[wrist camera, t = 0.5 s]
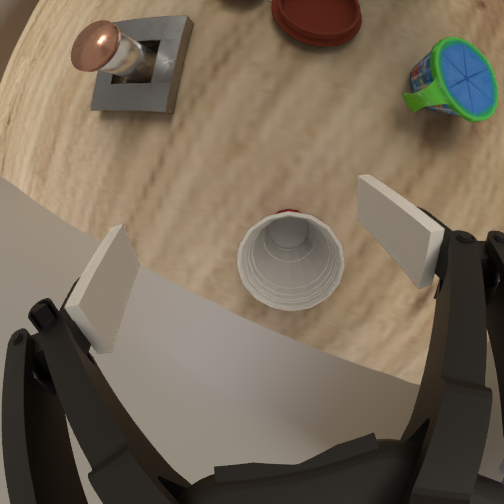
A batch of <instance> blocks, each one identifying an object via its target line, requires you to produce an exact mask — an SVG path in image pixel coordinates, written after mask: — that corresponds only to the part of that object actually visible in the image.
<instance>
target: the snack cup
mask: <svg viewBox="0 0 504 504" xmlns="http://www.w3.org/2000/svg"><path fill="white" fill-rule="evenodd" d="M411 84H412V88H413V91H414V93H412V94H409V93H403V98H404V100H405V102H406V103H407V105H408V107H409V108H410V110H411V111H412V112H416V111H418V110H419V109H421V108H423V107H427V108H429V109H431V110H433V111H437V112H442V113H447V114H452V115H457V116H460V117H462V118H464V119H466V120H467V121H469V122H474V123H476V121H484V120H487V119H489V118H490V117H491V116H492V115H493V114H494V112H495V110H496V107H497V104H498V86H497V81H496V78H495V73H494V71H493V69H492V67H491V65H490V63H489V61H488V60H487V58H485V57H484V55H483V54H482V53H481V52H480V51H479V50H478V49H477V48H476V47H475V46H474V45H473V44H471V43H470V42H468V41H466V40H464V39H462V38H458V37H448V38H445V39H443V40H440V41H439V42H438V43H437V44H436V45H435V46H433V48H432V50H431V52H430V53H429V54H427V55H426V56H425V57H424V58H423V59H422V60H421V61H420V62H419V63H418V64H417V65H415V67H414V68H413V70H412V72H411Z"/></svg>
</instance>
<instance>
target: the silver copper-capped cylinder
mask: <svg viewBox="0 0 504 504" xmlns="http://www.w3.org/2000/svg"><path fill="white" fill-rule="evenodd" d="M156 57H157V53H155V52H154V51H152V50H150V49H149V48H147V47H145V46H144V45H142V44H140V43H138V42H137V41H135V40H133V39H131V38H129V37H128V36H126V35H124V34H122V33H120V30H119V28H118V27H117V26H116V25H115V24H113V23H111V22H109V21H105V20H101V21H97V22H94V23H92V24H90V25H89V26H87V27H86V28H85V29H84V30H83V31H82V32H81V33H80V34H79V36H78V37H77V39H76V40H75V42H74V45H73V47H72V51H71V61H72V64H73V66H74V67H75V68H76V69H78V70H81V71H86V72H93V71H96V70H100V71H104V72H108V73H111V74H115V75H118V76H122V77H125V78H128V79H131V80H135V81H138V82H143V81H147V80H149V79H151V78H152V75H153V70H154V66H155V62H156Z"/></svg>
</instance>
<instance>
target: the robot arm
mask: <svg viewBox="0 0 504 504" xmlns="http://www.w3.org/2000/svg"><path fill="white" fill-rule="evenodd" d="M357 220H358V221H359V222H360V223H361V224H362V225H363V226H364V227H365V228H366V229H367V230H368V231H369V232H370V234H371V235H372V236H373V237H374V238H375V239H376V240H377V241H378V242H379V243H380V244H381V246H382V247H383V248H384V249H385V250H386V251H387V252H388V253H389V254H390V256H391V257H392V258H393V259H394V260H395V261H396V263H397V264H398V265H399V266H400V267H401V268H402V270H403V271H404V272H405V273H406V274H407V275H408V277H409V278H410V279H411V280H412V282H413V283H414V284H415V285H416V286H417V288H418V289H421V288H424V287H426V286H429V285H432V282H433V278H434V275H435V274H436V275H437V276H438V277H439V278H440V279H439V283H438V286H437V290H436V293H435V296H434V299H436V307H435V315H434V322H433V328H432V334H431V340H430V345H429V351H428V356H427V360H426V365H425V369H424V373H423V378H422V381H421V385H420V389H419V393H418V396H417V400H416V403H415V407H414V410H413V413H412V416H411V419H410V421H409V424H408V425H407V427H406V430H405V431H404V433H403V435H402V437H401V439H400V440H395V439H377V440H376V437H375V434H374V433H371V434H369V435H366V436H363V437H360V438H357V439H354V440H351V441H348V442H345V443H341V444H338V445H336V446H334V447H332V448H330V449H328V450H326V451H325V452H323V453H321V454H319V455H317V456H315V457H313V458H311V459H309V460H307V461H305V462H302V463H300V464H296V465H284V464H283V465H282V464H264V463H247V464H239V465H228V466H216V467H214V471H215V474H213V475H210V476H208V477H205V478H203V479H201V480H199V481H198V482H196V483H194V484H193V485H191V484H190V483H189V482H188V481H187V480H186V479H184V478H183V477H182V476H181V475H179V474H178V473H177V472H176V471H174V469H172V467H171V466H170V465H169V464H168V463H167V462H166V461H165V460H164V458H163V457H162V456H161V455H160V454H159V453H158V451H157V450H156V449H155V448H154V447H153V445H152V444H151V443H150V442H149V440H148V439H147V438H146V437H145V435H144V434H143V433H142V431H141V430H140V429H139V427H138V426H137V425H136V424H135V422H134V421H133V420H132V418H131V417H130V415H129V414H128V412H127V411H126V409H125V408H124V407H123V405H122V404H121V402H120V401H119V400H118V398H117V396H116V395H115V393H114V392H113V390H112V388H111V387H110V385H109V384H108V382H107V380H106V379H105V377H104V376H103V374H102V372H101V370H100V369H99V367H98V365H97V363H96V362H95V360H94V358H93V356H92V355H91V354H90V353H89V349H90V346H91V345H92V347H93V348H94V349H95V351H96V352H97V353H98V354H101V353H112V351H113V347H114V343H115V340H116V336H117V333H118V329H119V326H120V322H121V319H122V316H123V313H124V310H125V307H126V303H127V300H128V297H129V294H130V291H131V288H132V285H133V283H134V280H135V277H136V274H137V271H138V269H139V266H140V263H139V261H138V258H137V256H136V254H135V251H134V249H133V247H132V244H131V242H130V239H129V237H128V235H127V232H126V230H125V227H124V225H123V224H120V225H116V226H113V227H111V229H110V230H109V232H108V233H107V235H106V236H105V238H104V239H103V241H102V242H101V244H100V245H99V247H98V249H97V250H96V252H95V253H94V255H93V257H92V258H91V260H90V262H89V264H88V265H87V267H86V269H85V270H84V272H83V274H82V275H81V277H80V278H79V279H78V280H77V281H76V282H75V283H74V284H73V286H72V288H71V290H70V292H69V293H68V295H67V298H66V299H65V301H64V303H63V305H62V307H61V308H60V310H59V311H58V310H57V308H56V307H55V305H54V304H53V302H52V301H51V300H50V299H49V298H46V299H42V300H41V301H39V302H37V303H36V304H35V305H34V306H33V307H32V308H31V310H30V312H29V314H28V318H29V320H30V321H31V322H32V324H33V325H34V326H35V328H36V329H37V330H38V332H39V333H36V334H34V335H32V336H31V335H30V334H29V333H28V331H27V330H26V329H23V328H22V329H19V330H18V331H16V332H14V334H12V336H11V338H10V340H9V343H8V348H7V354H6V362H5V370H4V380H3V393H2V446H3V458H4V468H5V476H6V482H7V488H8V494H9V498H10V504H88V502H87V499H86V496H85V493H84V490H83V487H82V484H81V481H80V477H79V474H78V471H77V467H76V464H75V459H74V455H73V451H72V447H71V443H70V438H69V433H68V428H67V422H66V416H67V419H68V421H69V423H70V426H71V428H72V430H73V432H74V434H75V436H76V438H77V440H78V442H79V445H80V447H81V448H82V450H83V452H84V454H85V456H86V458H87V460H88V462H89V463H90V465H91V468H92V471H91V472H90V473H88V478H89V481H90V483H91V485H92V487H93V488H94V490H95V491H96V493H97V495H98V496H99V498H100V500H101V501H102V502H103V504H504V478H503V481H502V483H500V482H498V481H495V480H492V479H490V478H487V477H485V476H482V475H480V474H478V471H479V468H480V464H481V460H482V456H483V452H484V448H485V443H486V438H487V433H488V427H489V421H490V413H491V406H492V390H491V388H486V387H485V373H486V352H487V348H486V347H487V331H488V335H489V339H490V343H491V347H492V352H493V356H494V361H495V367H496V372H497V378H498V385H499V392H500V401H501V411H502V425H503V436H504V233H502V232H500V231H490V232H488V235H487V239H486V241H477V240H476V238H475V237H474V236H473V235H471V234H470V233H468V232H465V231H460V230H457V231H452V230H451V229H449V228H448V227H447V226H446V225H444V224H443V223H442V222H441V221H439V220H437V218H435V217H434V216H432V215H431V214H430V213H429V212H427V211H426V210H424V209H422V208H419V207H417V206H414V205H413V204H412V203H410V202H409V201H408V200H406V199H405V198H403V197H402V196H401V195H399V194H398V193H396V192H395V191H393V190H392V189H391V188H389V187H388V186H386V185H385V184H383V183H382V182H380V181H379V180H377V179H376V178H374V177H372V176H371V175H369V174H366V175H359V176H357ZM499 279H500V281H499ZM65 414H66V416H65ZM499 474H500V475H501V476H504V460H503V461H502V462H501V464H500V466H499Z"/></svg>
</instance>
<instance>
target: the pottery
mask: <svg viewBox="0 0 504 504" xmlns="http://www.w3.org/2000/svg"><path fill="white" fill-rule="evenodd" d="M272 14H273V17H274V19H275V21H276V23H277V24H278V25H279V27H280V28H281V29H282V30H283V31H284V32H285V33H287V34H288V35H289V36H291V37H293V38H294V39H296V40H298V41H301V42H303V43H306V44H310V45H314V46H323V47H328V46H336V45H340V44H343V43H345V42H347V41H349V40H351V39H352V38H353V37H354V36H355V35H356V34H357V33H358V31H359V29H360V27H361V22H362V17H361V12H360V6H359V3H358V1H357V0H272Z"/></svg>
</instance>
